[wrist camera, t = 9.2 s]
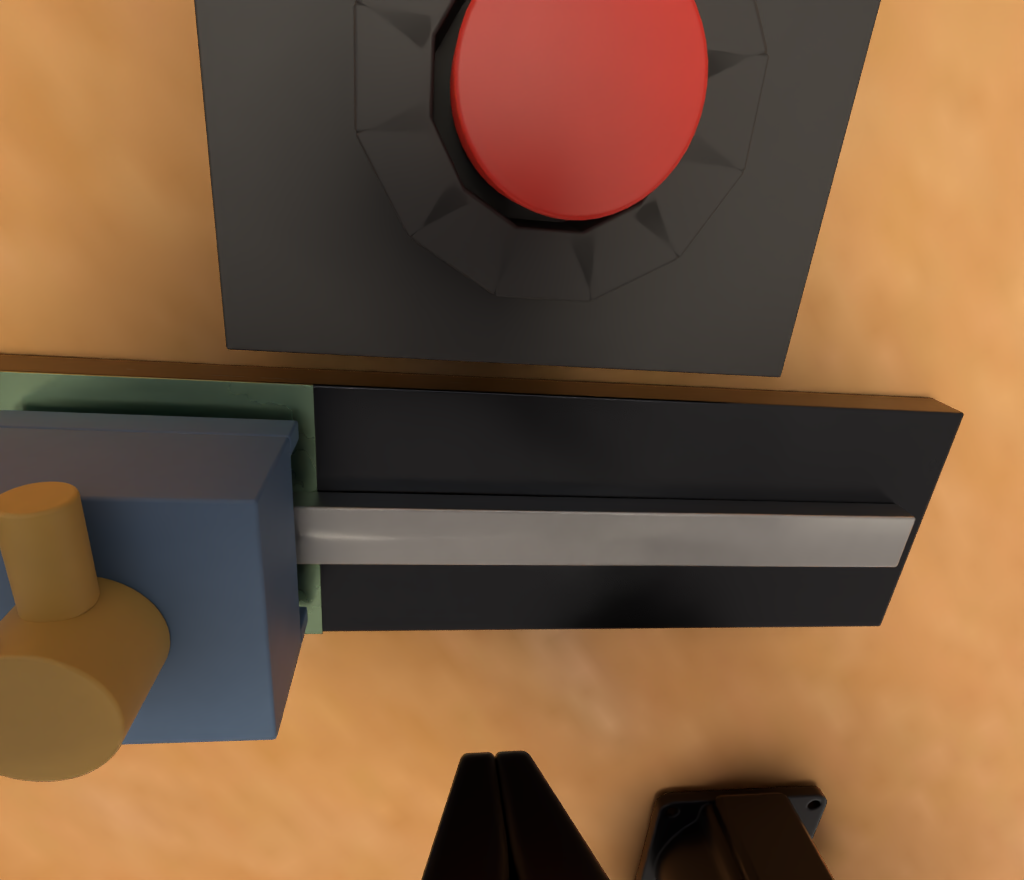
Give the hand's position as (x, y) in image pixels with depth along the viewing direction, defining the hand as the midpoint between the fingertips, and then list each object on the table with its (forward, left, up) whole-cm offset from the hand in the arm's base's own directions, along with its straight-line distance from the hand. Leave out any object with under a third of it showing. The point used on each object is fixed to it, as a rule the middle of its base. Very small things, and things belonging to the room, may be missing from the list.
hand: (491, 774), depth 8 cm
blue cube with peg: (-1, +7, -8) cm, 10 cm away
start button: (+8, -1, -6) cm, 10 cm away
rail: (-1, +1, -10) cm, 10 cm away
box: (+8, -1, -10) cm, 13 cm away
